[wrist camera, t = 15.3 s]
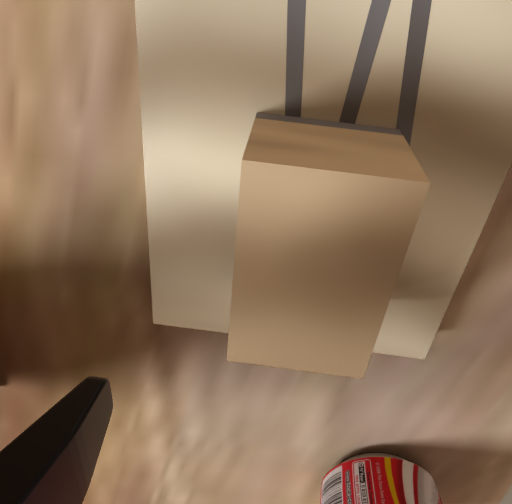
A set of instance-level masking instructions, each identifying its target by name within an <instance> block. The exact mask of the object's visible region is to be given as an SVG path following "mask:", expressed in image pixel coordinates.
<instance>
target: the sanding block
mask: <svg viewBox="0 0 512 504" xmlns="http://www.w3.org/2000/svg"><path fill="white" fill-rule="evenodd" d="M429 186H430V181H429V179H428V178H427V176H426V174H425V172H424V171H423V169H422V167H421V166H420V164H419V162H418V160H417V159H416V157H415V155H414V153H413V152H412V150H411V148H410V146H409V145H408V143H407V141H406V140H405V138H404V136H403V134H402V133H401V131H400V129H393V128H385V127H377V126H368V125H360V124H351V123H343V122H334V121H326V120H318V119H309V118H301V117H292V116H284V115H275V114H267V113H259V112H257V113H256V117H255V120H254V123H253V126H252V129H251V132H250V136H249V139H248V142H247V145H246V148H245V151H244V154H243V158H242V164H241V177H240V190H239V203H238V216H237V229H236V242H235V255H234V268H233V281H232V295H231V308H230V321H229V334H228V347H227V360H226V361H233V362H240V363H248V364H255V365H263V366H270V367H278V368H285V369H293V370H300V371H308V372H315V373H323V374H330V375H338V376H345V377H352V378H360V379H363V377H364V375H365V372H366V369H367V366H368V363H369V360H370V357H371V354H372V351H373V348H374V346H375V343H376V340H377V337H378V334H379V331H380V328H381V325H382V322H383V319H384V316H385V314H386V311H387V308H388V305H389V302H390V299H391V296H392V293H393V290H394V287H395V284H396V282H397V279H398V276H399V273H400V270H401V267H402V264H403V261H404V258H405V255H406V252H407V250H408V247H409V244H410V241H411V238H412V235H413V232H414V229H415V226H416V223H417V221H418V218H419V215H420V212H421V209H422V206H423V203H424V200H425V197H426V194H427V191H428V189H429Z"/></svg>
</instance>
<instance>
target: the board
mask: <svg viewBox="0 0 512 504" xmlns="http://www.w3.org/2000/svg"><path fill="white" fill-rule="evenodd" d="M135 13H136V30H137V48H138V66H139V83H140V101H141V118H142V136H143V153H144V171H145V188H146V206H147V224H148V241H149V259H150V276H151V294H152V311H153V324H160V325H168V326H175V327H183V328H190V329H198V330H206V331H213V332H221V333H228V334H229V321H230V308H231V295H232V281H233V268H234V255H235V242H236V229H237V216H238V203H239V190H240V177H241V164H242V158H243V154H244V151H245V148H246V145H247V142H248V139H249V136H250V132H251V129H252V126H253V123H254V120H255V117H256V113H257V112H259V113H267V114H275V115H284V116H292V117H301V118H309V119H318V120H326V121H334V122H343V123H351V124H360V125H368V126H377V127H385V128H393V129H400V131H401V133H402V134H403V136H404V138H405V140H406V141H407V143H408V145H409V146H410V148H411V150H412V152H413V153H414V155H415V157H416V159H417V160H418V162H419V164H420V166H421V167H422V169H423V171H424V172H425V174H426V176H427V178H428V179H429V181H430V186H429V189H428V191H427V194H426V197H425V200H424V203H423V206H422V209H421V212H420V215H419V218H418V221H417V223H416V226H415V229H414V232H413V235H412V238H411V241H410V244H409V247H408V250H407V252H406V255H405V258H404V261H403V264H402V267H401V270H400V273H399V276H398V279H397V282H396V284H395V287H394V290H393V293H392V296H391V299H390V302H389V305H388V308H387V311H386V314H385V316H384V319H383V322H382V325H381V328H380V331H379V334H378V337H377V340H376V343H375V346H374V348H373V351H372V353H380V354H387V355H395V356H402V357H410V358H418V359H425V357H426V355H427V353H428V350H429V348H430V346H431V344H432V341H433V339H434V337H435V335H436V332H437V330H438V328H439V326H440V324H441V321H442V319H443V317H444V315H445V312H446V310H447V308H448V306H449V303H450V301H451V299H452V297H453V294H454V292H455V290H456V288H457V285H458V283H459V281H460V279H461V276H462V274H463V272H464V270H465V267H466V265H467V263H468V261H469V259H470V256H471V254H472V252H473V250H474V247H475V245H476V243H477V241H478V238H479V236H480V234H481V232H482V229H483V227H484V225H485V223H486V220H487V218H488V216H489V214H490V211H491V209H492V207H493V205H494V202H495V200H496V198H497V196H498V194H499V191H500V189H501V187H502V185H503V182H504V180H505V178H506V176H507V173H508V171H509V169H510V167H511V164H512V0H135Z"/></svg>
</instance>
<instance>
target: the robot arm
mask: <svg viewBox="0 0 512 504" xmlns="http://www.w3.org/2000/svg"><path fill="white" fill-rule="evenodd" d="M112 409H113V401H112V394H111V387H110V382H109V380H108V379H106V378H101V377H93V376H91V377H87V378H86V379H84V380H83V381H82V382H81V383H80V384H79V385H77V386H76V387H75V388H74V389H73V390H72V391H70V392H69V393H68V394H67V395H66V396H65V397H63V398H62V399H61V400H60V401H59V402H58V403H56V404H55V405H54V406H53V407H52V408H51V409H49V410H48V411H47V412H46V413H45V414H44V415H42V416H41V417H40V418H39V419H38V420H37V421H35V422H34V423H33V424H32V425H31V426H30V427H28V428H27V429H26V430H25V431H24V432H23V433H21V434H20V435H19V436H18V437H17V438H16V439H14V440H13V441H12V442H11V443H10V444H9V445H7V446H6V447H5V448H4V449H3V450H2V451H0V504H82V503H83V500H84V498H85V495H86V493H87V490H88V487H89V484H90V481H91V478H92V475H93V472H94V469H95V466H96V462H97V459H98V456H99V453H100V450H101V446H102V443H103V440H104V437H105V434H106V430H107V427H108V424H109V421H110V417H111V414H112Z"/></svg>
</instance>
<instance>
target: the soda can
mask: <svg viewBox="0 0 512 504" xmlns="http://www.w3.org/2000/svg"><path fill="white" fill-rule="evenodd" d="M320 504H442V501H441V498H440V496H439V493H438V490H437V487H436V484H435V482H434V479H433V478H432V476H431V475H430V474H429V473H428V472H427V471H426V470H424V469H423V468H421V467H420V466H418V465H416V464H414V463H412V462H409V461H407V460H405V459H403V458H401V457H398V456H395V455H391V454H385V453H367V454H361V455H356V456H353V457H351V458H349V459H347V460H345V461H343V462H342V463H341V464H339V465H337V466H335V467H334V468H332V469H331V470H330V471H329V472H328V473H327V474H326V475H325V477H324V478H323V480H322V484H321V499H320Z"/></svg>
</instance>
